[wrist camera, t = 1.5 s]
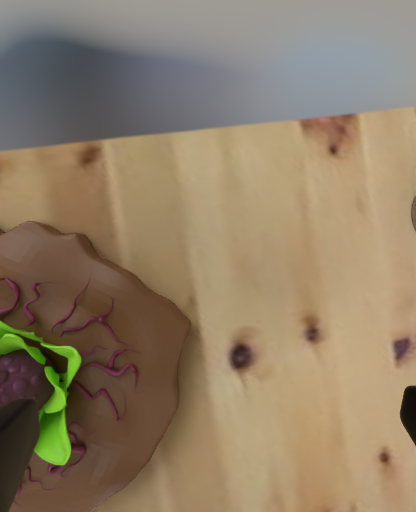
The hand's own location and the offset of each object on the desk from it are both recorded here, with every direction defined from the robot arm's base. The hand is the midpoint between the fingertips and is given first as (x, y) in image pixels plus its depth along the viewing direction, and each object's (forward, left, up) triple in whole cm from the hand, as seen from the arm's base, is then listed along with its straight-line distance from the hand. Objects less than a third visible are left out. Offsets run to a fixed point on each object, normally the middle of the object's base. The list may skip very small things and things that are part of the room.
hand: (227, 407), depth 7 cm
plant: (0, +12, -15) cm, 20 cm away
